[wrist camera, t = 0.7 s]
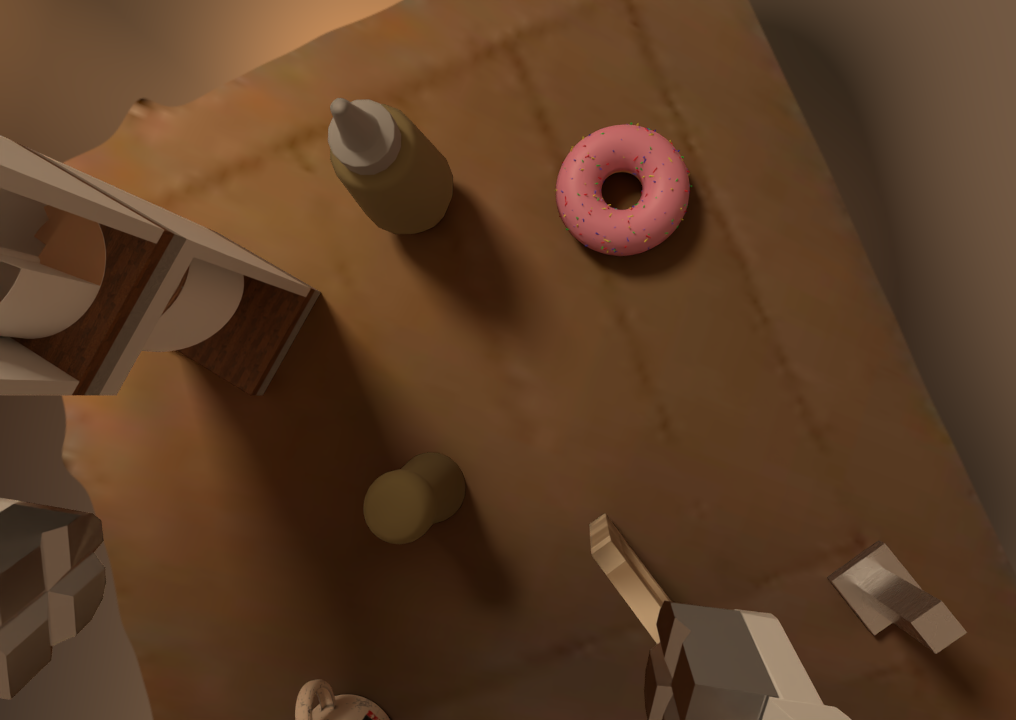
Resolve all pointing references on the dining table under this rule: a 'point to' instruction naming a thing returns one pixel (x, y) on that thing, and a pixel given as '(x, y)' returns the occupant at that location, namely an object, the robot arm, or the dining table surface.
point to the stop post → (894, 599)
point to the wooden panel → (627, 573)
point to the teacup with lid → (334, 705)
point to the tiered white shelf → (126, 287)
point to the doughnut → (629, 154)
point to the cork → (414, 498)
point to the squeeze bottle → (389, 166)
